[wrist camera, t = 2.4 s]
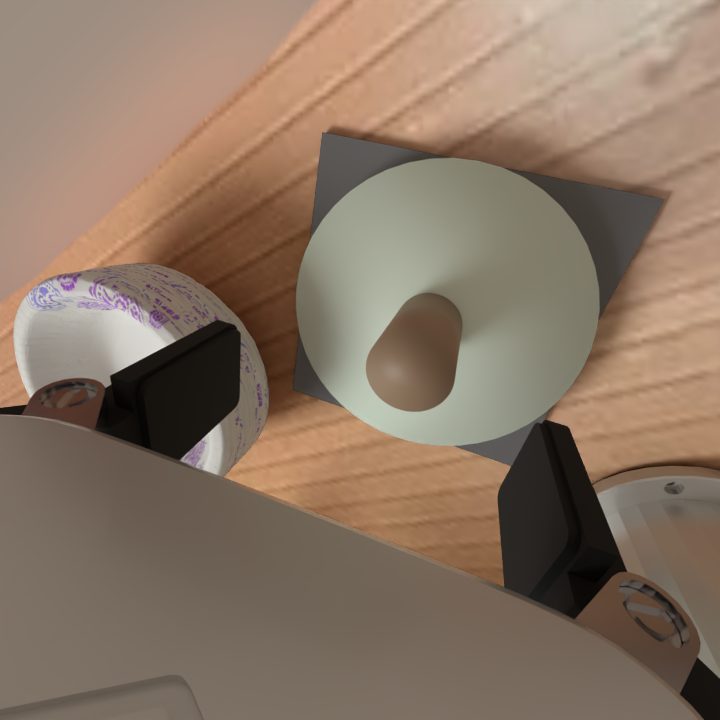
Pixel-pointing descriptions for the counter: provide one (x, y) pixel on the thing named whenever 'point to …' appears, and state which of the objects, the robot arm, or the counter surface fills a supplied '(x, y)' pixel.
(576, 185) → the mat
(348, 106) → the counter surface
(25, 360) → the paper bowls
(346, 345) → the lid
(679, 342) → the counter surface
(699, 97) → the counter surface
